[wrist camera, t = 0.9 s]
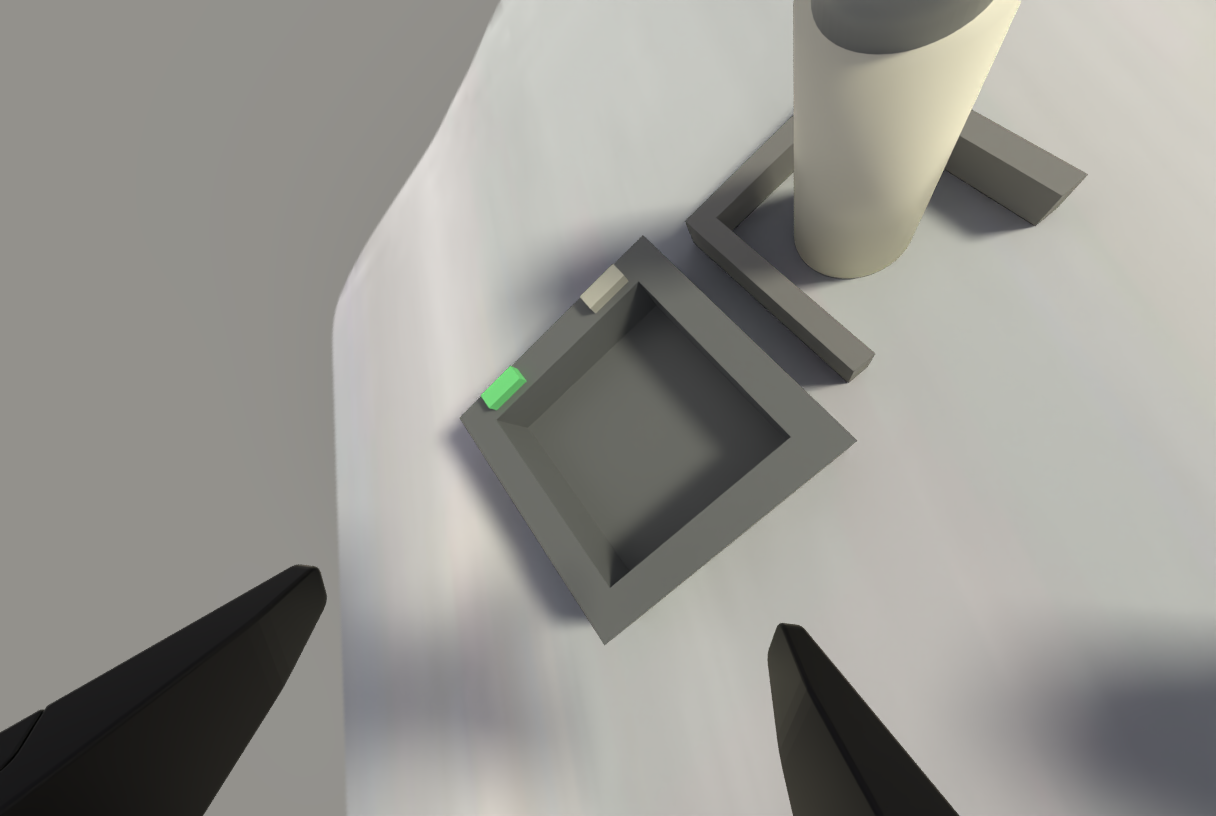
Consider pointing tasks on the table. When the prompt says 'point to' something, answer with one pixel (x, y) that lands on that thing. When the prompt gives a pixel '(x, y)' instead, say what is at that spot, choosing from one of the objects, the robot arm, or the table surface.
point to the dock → (646, 437)
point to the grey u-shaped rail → (977, 158)
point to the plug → (880, 118)
